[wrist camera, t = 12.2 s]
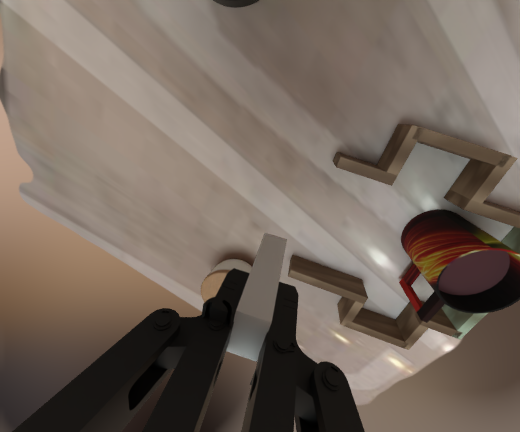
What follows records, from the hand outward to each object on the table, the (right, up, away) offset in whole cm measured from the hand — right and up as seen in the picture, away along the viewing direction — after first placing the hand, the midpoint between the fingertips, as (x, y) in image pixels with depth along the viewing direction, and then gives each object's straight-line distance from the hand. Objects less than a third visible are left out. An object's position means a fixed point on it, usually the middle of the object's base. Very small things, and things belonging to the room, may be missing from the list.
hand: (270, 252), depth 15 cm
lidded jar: (-5, -9, +34) cm, 35 cm away
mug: (+29, -3, +24) cm, 37 cm away
